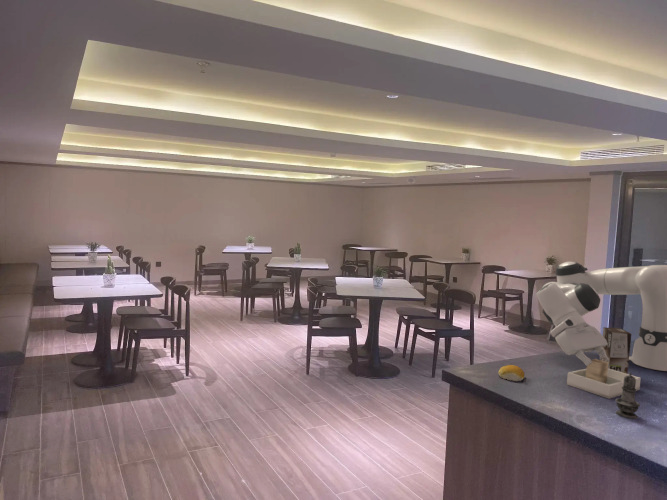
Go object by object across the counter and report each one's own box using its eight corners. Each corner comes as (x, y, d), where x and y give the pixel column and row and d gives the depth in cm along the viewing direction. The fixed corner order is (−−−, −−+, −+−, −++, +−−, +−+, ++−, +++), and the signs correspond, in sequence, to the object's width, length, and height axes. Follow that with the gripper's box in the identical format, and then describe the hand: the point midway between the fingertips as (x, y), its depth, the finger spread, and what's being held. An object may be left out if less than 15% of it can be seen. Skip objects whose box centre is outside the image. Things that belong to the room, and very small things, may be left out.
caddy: (597, 377, 169) (598, 365, 168) (639, 389, 157) (640, 377, 157) (566, 384, 159) (567, 372, 158) (608, 398, 147) (610, 385, 147)
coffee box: (627, 379, 167) (632, 333, 166) (607, 377, 169) (611, 331, 168) (618, 371, 176) (622, 328, 175) (598, 369, 178) (602, 326, 176)
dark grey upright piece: (644, 418, 133) (648, 375, 133) (628, 420, 131) (632, 376, 131) (624, 409, 139) (628, 368, 138) (609, 411, 137) (613, 369, 136)
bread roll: (524, 375, 166) (525, 364, 166) (523, 383, 158) (524, 371, 158) (499, 371, 170) (500, 360, 169) (496, 378, 161) (497, 367, 161)
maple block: (593, 382, 159) (595, 358, 158) (606, 386, 155) (608, 362, 155) (585, 385, 156) (587, 360, 155) (597, 389, 153) (599, 364, 152)
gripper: (582, 328, 170) (607, 363, 163) (546, 333, 159) (572, 371, 152) (595, 318, 166) (622, 354, 159) (560, 322, 155) (587, 361, 148)
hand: (597, 362), depth 155 cm, fingers open, 8 cm apart
